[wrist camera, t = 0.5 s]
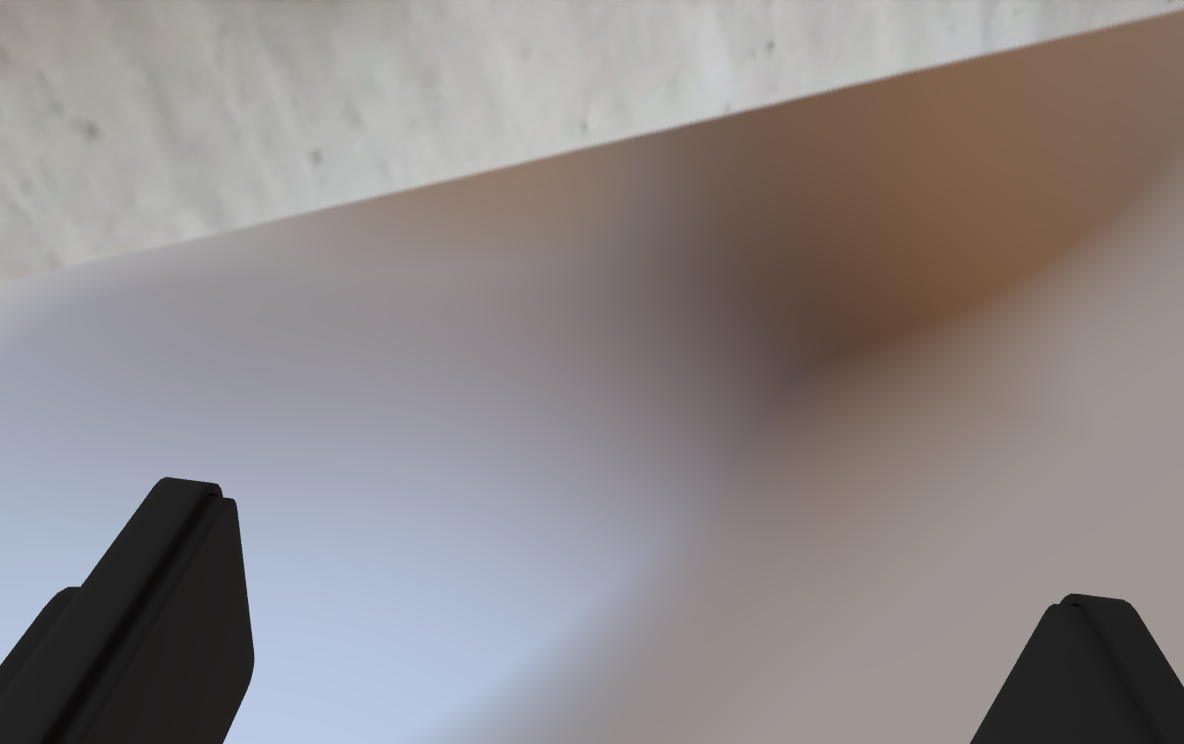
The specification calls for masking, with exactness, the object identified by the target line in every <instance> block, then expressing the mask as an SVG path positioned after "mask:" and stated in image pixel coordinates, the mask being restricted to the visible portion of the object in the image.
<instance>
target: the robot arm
mask: <svg viewBox="0 0 1184 744" xmlns="http://www.w3.org/2000/svg"><path fill="white" fill-rule="evenodd" d="M253 668H254V648H253V640H252V631H251V623H250V614H249V605H248V597H247V588H246V580H245V571H244V562H243V554H242V545H241V537H240V528H239V520H238V511H237V506H236V502H235V500H234V499H231V498H223V494H222V491H221V488H220V487H219V485H218V484H215V483H209V482H200V481H193V480H186V479H185V480H184V479H178V478H170V477H165V478H163V479H160V481H159V482H158V483H157V484H156V485H155V486H154V487H153V488H152V490H151V491H150V493H149V494H148V495H147V497H146V498H145V499H144V501H143V503H142V504H141V505H140V506H139V508H138V509H137V510H136V512H135V513H134V515H133V516H132V517H131V519H130V520H129V521H128V523H127V524H126V526H125V527H124V528H123V530H122V531H121V532H120V534H119V535H118V537H117V538H116V539H115V541H114V542H113V543H112V545H111V546H110V548H109V549H108V550H107V552H106V553H105V554H104V556H103V557H102V558H101V560H100V561H99V562H98V564H97V565H96V567H95V568H94V569H93V571H92V572H91V574H90V575H89V576H88V578H87V579H86V580H85V582H84V583H83V584H82V586H81V587H67V588H65V589H64V590H62V591H60V592H59V593H57V594H56V595H55V596H54V597H53V598H52V599H51V600H50V601H49V602H48V604H47V605H46V606H45V607H44V608H43V610H42V611H41V612H40V614H39V615H38V616H37V618H36V619H35V620H34V622H33V623H32V624H31V626H30V627H29V628H28V630H27V631H26V632H25V634H24V635H23V636H22V637H21V639H20V640H19V641H18V643H17V644H16V645H15V647H14V648H13V649H12V651H11V652H10V653H9V655H8V656H7V657H6V659H5V660H4V661H3V663H2V664H1V665H0V744H223V742H224V740H225V738H226V735H227V733H228V731H229V729H230V727H231V724H232V722H233V720H234V718H235V715H236V713H237V711H238V709H239V707H240V705H241V702H242V700H243V698H244V696H245V694H246V691H247V689H248V686H249V684H250V681H251V677H252V673H253ZM970 744H1184V687H1183V685H1182V684H1181V682H1180V681H1179V679H1178V677H1177V676H1176V674H1175V672H1174V671H1173V669H1172V668H1171V666H1170V665H1169V663H1168V661H1167V660H1166V658H1165V656H1164V655H1163V653H1162V651H1161V650H1160V648H1159V647H1158V645H1157V644H1156V642H1155V640H1154V639H1153V637H1152V635H1151V634H1150V632H1149V631H1148V629H1147V627H1146V626H1145V624H1144V622H1143V621H1142V619H1141V618H1140V616H1139V614H1138V613H1137V611H1136V610H1135V609H1134V608H1133V607H1132V605H1131V604H1130V603H1128V602H1126V601H1125V600H1121V599H1114V598H1105V597H1098V596H1090V595H1082V594H1069V595H1068V596H1066V597H1064V599H1063V600H1062V601H1061V602H1060V604H1053V605H1051V606H1049V607H1048V609H1047V610H1046V611H1045V613H1044V615H1043V616H1042V618H1041V620H1040V622H1039V623H1038V625H1037V627H1036V629H1035V630H1034V632H1033V634H1032V636H1031V638H1030V639H1029V641H1028V643H1027V645H1026V646H1025V648H1024V650H1023V651H1022V653H1021V655H1020V657H1019V658H1018V660H1017V662H1016V664H1015V666H1014V667H1013V669H1012V671H1011V672H1010V674H1009V676H1008V678H1007V679H1006V681H1005V683H1004V685H1003V686H1002V688H1001V690H1000V692H999V694H998V695H997V697H996V699H995V701H994V702H993V704H992V706H991V708H990V709H989V711H988V713H987V714H986V717H985V718H984V720H983V722H982V723H981V725H980V727H979V729H978V730H977V732H976V734H975V736H974V737H973V739H972V741H971V743H970Z"/></svg>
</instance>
